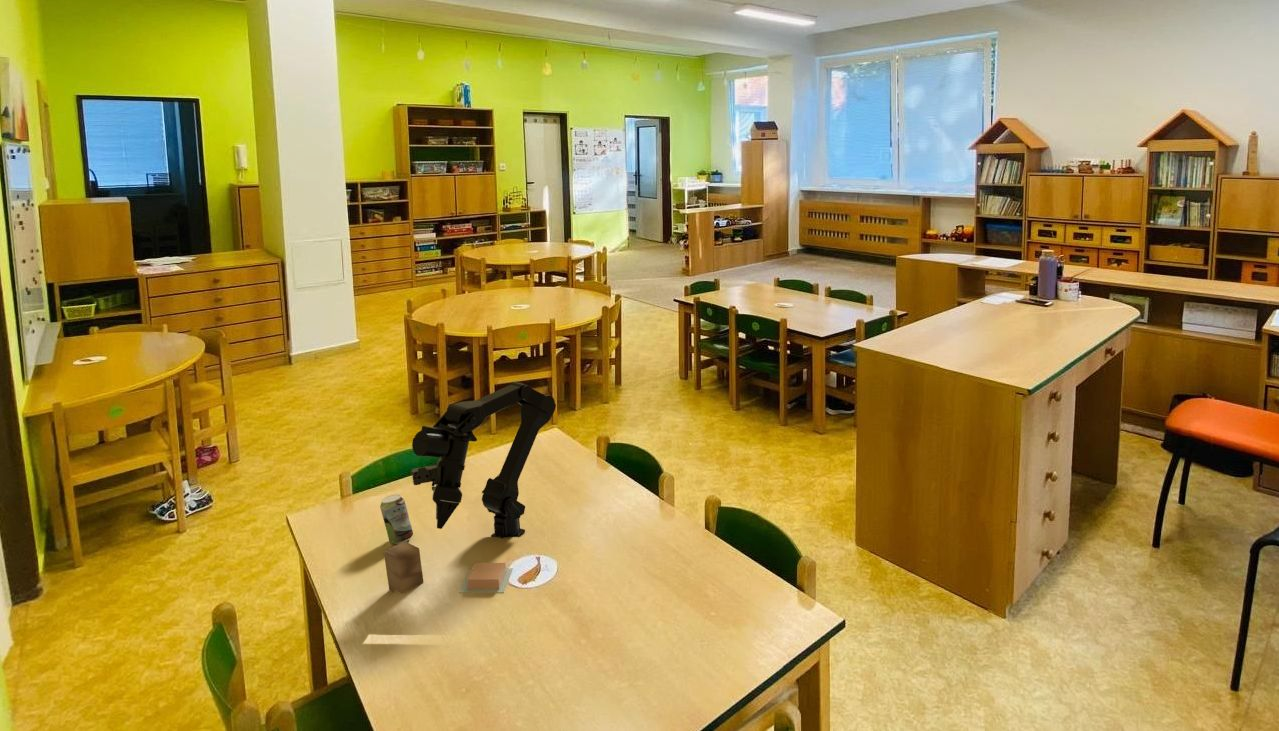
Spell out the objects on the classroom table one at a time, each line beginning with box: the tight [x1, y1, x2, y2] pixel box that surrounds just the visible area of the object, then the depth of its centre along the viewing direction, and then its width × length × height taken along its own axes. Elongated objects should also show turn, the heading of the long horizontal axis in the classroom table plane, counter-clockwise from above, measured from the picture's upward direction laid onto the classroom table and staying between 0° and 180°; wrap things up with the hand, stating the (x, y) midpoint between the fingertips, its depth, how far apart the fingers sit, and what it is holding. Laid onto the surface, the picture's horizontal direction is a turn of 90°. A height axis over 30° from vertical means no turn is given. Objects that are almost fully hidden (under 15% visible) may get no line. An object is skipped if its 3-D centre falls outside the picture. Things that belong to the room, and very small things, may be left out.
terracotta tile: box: [467, 562, 507, 589], centre depth 174 cm, size 7×7×2 cm
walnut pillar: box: [383, 541, 424, 594], centre depth 173 cm, size 6×6×10 cm
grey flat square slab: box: [459, 567, 514, 594], centre depth 175 cm, size 10×10×2 cm
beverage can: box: [379, 494, 414, 545], centre depth 195 cm, size 6×7×12 cm
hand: (438, 523), depth 179 cm, fingers open, 9 cm apart
